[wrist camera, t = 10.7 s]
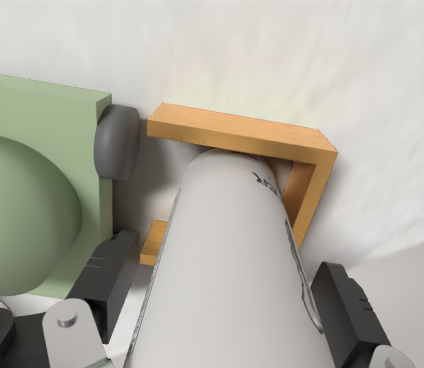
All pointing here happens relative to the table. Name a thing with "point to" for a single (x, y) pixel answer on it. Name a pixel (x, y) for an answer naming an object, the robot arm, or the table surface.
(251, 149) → the bracket
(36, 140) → the green toy car
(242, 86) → the table surface
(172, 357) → the energy drink can
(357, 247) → the table surface
